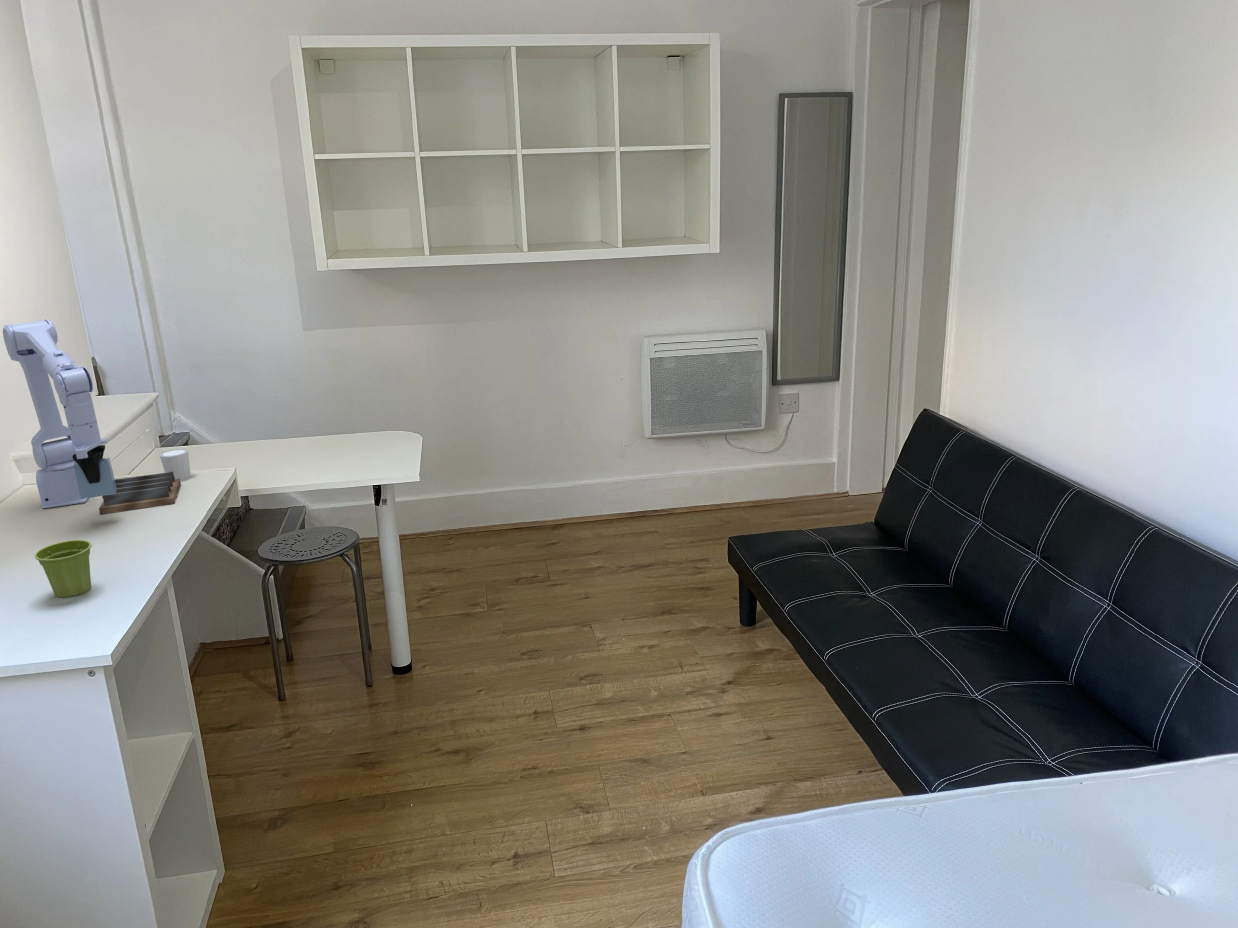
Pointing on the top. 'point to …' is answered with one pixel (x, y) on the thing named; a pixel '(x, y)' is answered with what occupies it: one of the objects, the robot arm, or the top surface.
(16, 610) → the top surface
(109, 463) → the block
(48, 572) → the plant pot
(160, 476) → the rack
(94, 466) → the robot arm
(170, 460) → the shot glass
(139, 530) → the top surface
